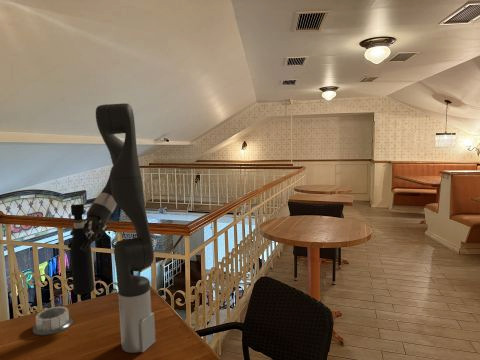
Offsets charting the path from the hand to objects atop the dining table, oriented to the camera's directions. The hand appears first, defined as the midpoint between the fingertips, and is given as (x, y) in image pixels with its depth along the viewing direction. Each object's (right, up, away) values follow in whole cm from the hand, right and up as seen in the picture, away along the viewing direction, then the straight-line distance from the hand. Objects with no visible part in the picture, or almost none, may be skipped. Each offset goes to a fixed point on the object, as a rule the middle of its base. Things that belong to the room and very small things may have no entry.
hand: (76, 249), depth 111 cm
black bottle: (+1, -15, +3) cm, 16 cm away
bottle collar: (-9, -27, +3) cm, 29 cm away
